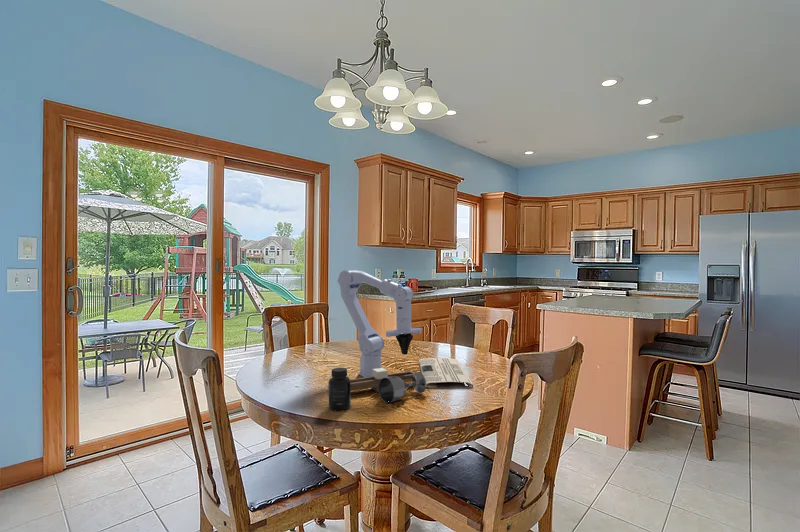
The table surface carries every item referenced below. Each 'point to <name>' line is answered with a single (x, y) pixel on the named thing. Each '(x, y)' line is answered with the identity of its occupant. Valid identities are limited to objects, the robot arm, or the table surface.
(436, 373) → the newspaper
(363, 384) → the beam
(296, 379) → the table surface
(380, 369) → the block
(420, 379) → the wine glass
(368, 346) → the robot arm
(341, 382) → the supplement bottle
